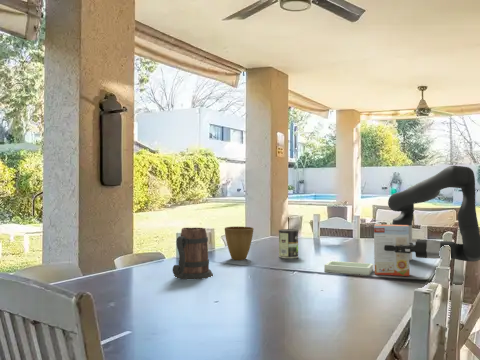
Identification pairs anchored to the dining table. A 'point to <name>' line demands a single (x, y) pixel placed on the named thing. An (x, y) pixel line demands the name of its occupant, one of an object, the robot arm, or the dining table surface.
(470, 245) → the robot arm
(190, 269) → the tankard
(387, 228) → the cracker box
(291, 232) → the coffee can
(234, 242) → the plant pot
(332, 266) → the tray
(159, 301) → the dining table surface
